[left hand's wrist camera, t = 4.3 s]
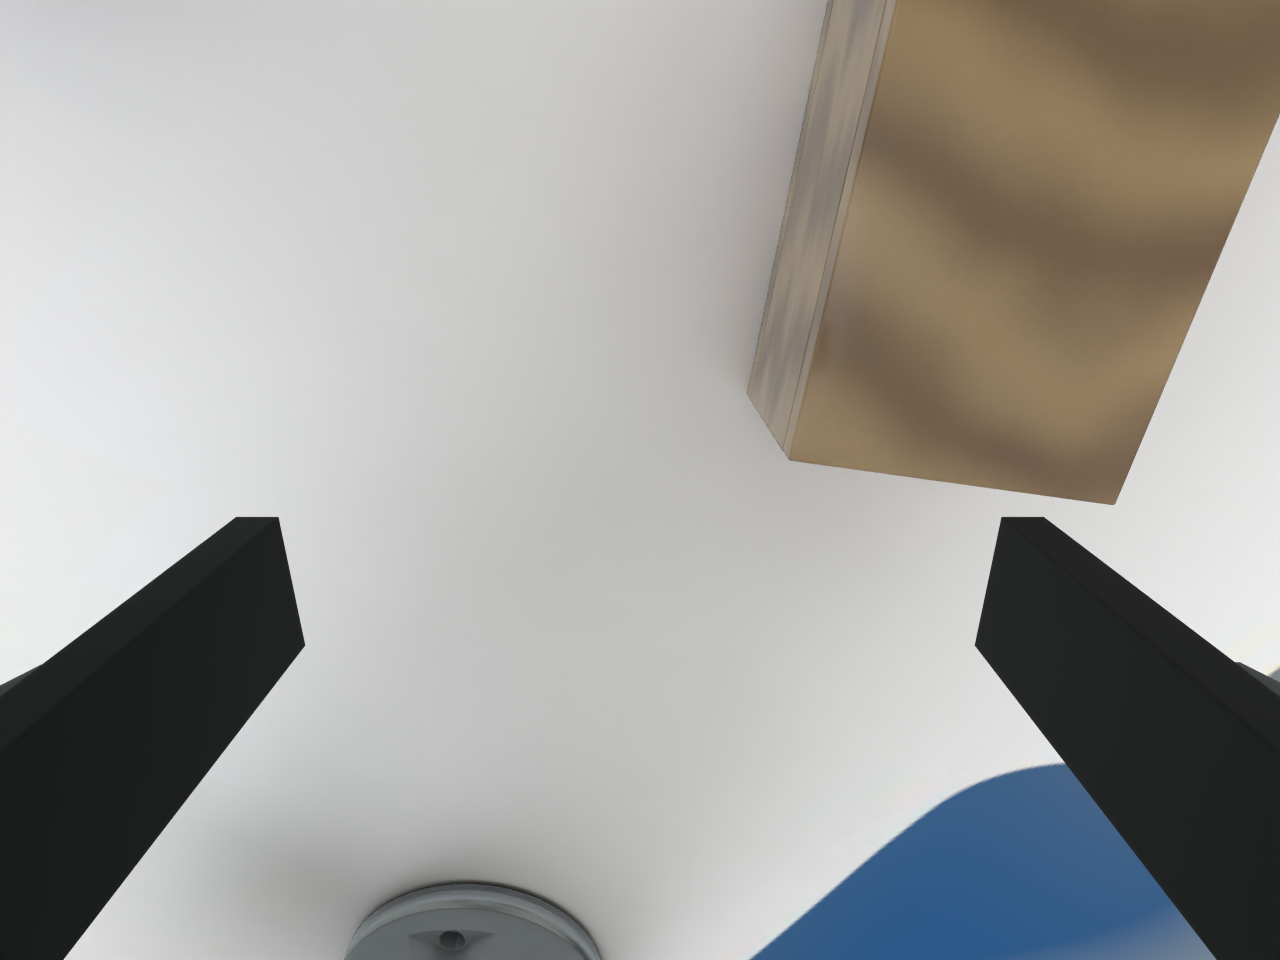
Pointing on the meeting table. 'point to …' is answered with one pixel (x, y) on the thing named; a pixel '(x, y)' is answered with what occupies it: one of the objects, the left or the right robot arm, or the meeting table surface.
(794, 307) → the cabinet
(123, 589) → the meeting table surface
